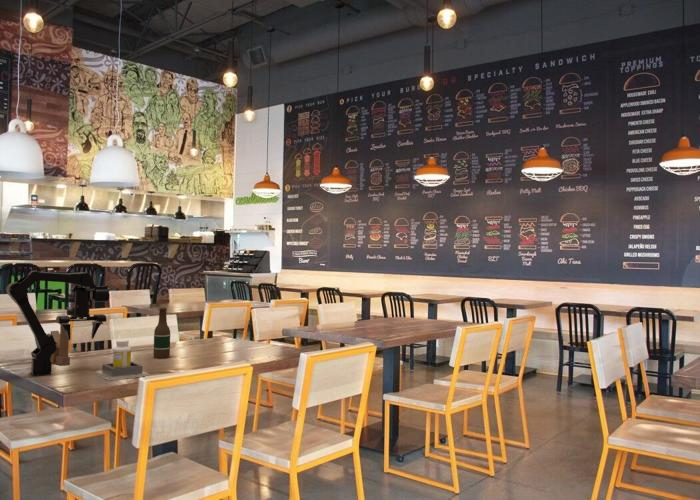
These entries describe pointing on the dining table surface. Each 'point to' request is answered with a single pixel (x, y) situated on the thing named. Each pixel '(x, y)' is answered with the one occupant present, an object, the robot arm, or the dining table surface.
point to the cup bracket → (121, 372)
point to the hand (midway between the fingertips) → (80, 339)
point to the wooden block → (60, 348)
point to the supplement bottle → (122, 354)
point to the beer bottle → (162, 336)
